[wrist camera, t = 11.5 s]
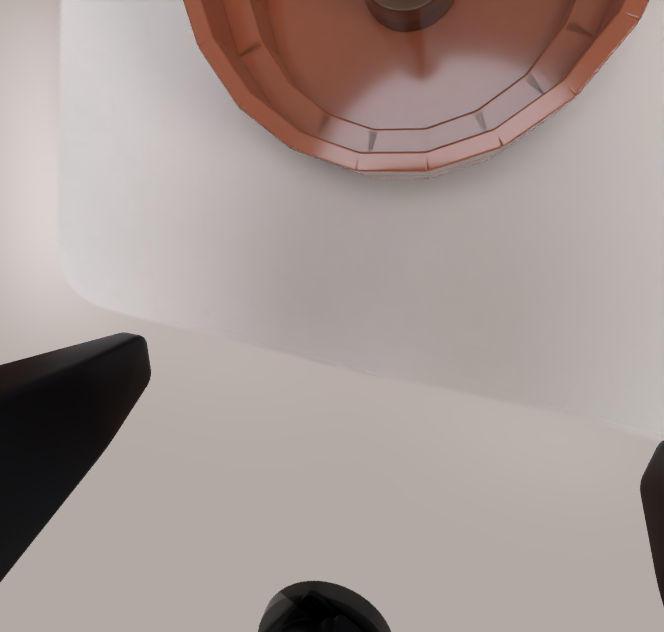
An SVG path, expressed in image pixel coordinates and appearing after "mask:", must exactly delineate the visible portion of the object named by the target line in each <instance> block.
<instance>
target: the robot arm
mask: <svg viewBox="0 0 664 632" xmlns="http://www.w3.org/2000/svg"><path fill="white" fill-rule="evenodd" d="M150 376H151V369H150V361H149V355H148V349H147V342H146V340H145V339H144V337H142V336H140V335H135V334H130V333H118V334H115V335H111V336H107V337H104V338H100V339H96V340H92V341H89V342H85V343H81V344H78V345H74V346H70V347H66V348H62V349H59V350H55V351H52V352H48V353H44V354H40V355H36V356H33V357H29V358H25V359H21V360H18V361H14V362H11V363H7V364H3V365H0V582H1V581H2V580H3V578H4V577H5V576H6V574H7V573H8V572H9V571H10V569H11V568H12V567H13V566H14V564H15V563H16V562H17V560H18V559H19V558H20V557H21V556H22V554H23V553H24V552H25V551H26V549H27V548H28V547H29V546H30V544H31V543H32V542H33V540H34V539H35V538H36V537H37V535H38V534H39V533H40V532H41V530H42V529H43V528H44V527H45V525H46V524H47V523H48V522H49V520H50V519H51V518H52V517H53V515H54V514H55V513H56V511H57V510H58V509H59V507H60V506H61V505H62V504H63V502H64V501H65V500H66V499H67V498H68V496H69V495H70V494H71V492H72V491H73V490H74V489H75V488H76V486H77V485H78V484H79V483H80V481H81V480H82V479H83V477H84V476H85V475H86V474H87V472H88V471H89V470H90V469H91V467H92V466H93V465H94V463H95V462H96V461H97V460H98V459H99V457H100V456H101V455H102V453H103V452H104V451H105V449H106V448H107V447H108V445H109V444H110V442H111V441H112V439H113V438H114V436H115V435H116V433H117V432H118V430H119V429H120V427H121V425H122V424H123V422H124V421H125V419H126V418H127V416H128V415H129V413H130V411H131V410H132V408H133V407H134V405H135V404H136V402H137V401H138V399H139V397H140V396H141V394H142V393H143V391H144V390H145V388H146V387H147V385H148V383H149V380H150ZM640 492H641V498H642V503H643V509H644V514H645V520H646V525H647V531H648V536H649V541H650V547H651V552H652V557H653V563H654V568H655V574H656V578H657V583H658V587H659V591H660V595H661V598H662V602H663V605H664V441H662V442H661V443H660V444H659V445H658V447H657V448H656V450H655V452H654V454H653V456H652V458H651V460H650V462H649V464H648V466H647V468H646V470H645V472H644V475H643V477H642V479H641V485H640ZM311 599H313V600H314V601H312V600H311ZM266 632H366V631H365V630H364V629H363V628H362V627H360V626H359V625H358V624H357V623H355V622H354V621H353V620H352V619H351V618H349V617H348V616H347V615H346V614H345V613H343V612H342V611H341V610H340V609H338V608H337V607H336V606H335V605H334V604H332V603H331V602H330V601H329V600H327V599H326V598H325V597H324V596H323V595H321V594H320V593H319V592H317V591H316V590H308V591H306V592H305V593H304V594H303V595H302V596H301V597H300V598H299V599H298V600H297V601H296V602H295V603H294V604H293V605H292V606H291V607H290V608H289V609H288V610H287V611H286V612H285V613H284V614H283V615H282V616H281V617H280V618H279V619H278V620H277V621H276V622H275V623H274V624H273V625H272V626H271V627H270V628H269V629H268V630H267V631H266Z"/></svg>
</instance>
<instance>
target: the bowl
mask: <svg viewBox="0 0 664 632" xmlns="http://www.w3.org/2000/svg"><path fill="white" fill-rule="evenodd" d="M183 1H184V5H185V8H186V11H187V14H188V17H189V20H190V23H191V26H192V29H193V33H194V36H195V39H196V42H197V45H198V46H199V49H200V51H201V52H202V54H203V55H204V57H205V58H206V60H207V61H208V63H209V64H210V66H211V67H212V69H213V70H214V72H215V73H216V75H217V76H218V78H219V79H220V81H221V82H222V83H223V85H224V86H225V88H226V89H227V91H228V92H229V94H230V95H231V97H232V98H233V100H234V101H235V103H236V104H237V105H238V106H239V108H240V109H241V110H243V111H244V112H245V113H246V114H248V115H249V116H250V117H251V118H253V119H254V120H255V121H257V122H258V123H259V124H260V125H262V126H263V127H264V128H265V129H267V130H268V131H269V132H270V133H272V134H273V135H274V136H276V137H277V138H278V139H279V140H281V141H282V142H283V143H284V144H286V145H287V146H288V147H289V148H291V149H293V150H295V151H298V152H301V153H303V154H306V155H309V156H311V157H314V158H317V159H320V160H322V161H325V162H328V163H331V164H334V165H337V166H339V167H342V168H345V169H348V170H351V171H354V172H357V173H360V174H362V175H365V176H368V177H371V178H424V179H429V178H430V177H431V178H434V177H437V176H440V175H443V174H446V173H449V172H452V171H455V170H458V169H462V168H465V167H468V166H471V165H474V164H477V163H480V162H483V161H487V160H488V159H490V158H492V157H494V156H495V155H497V154H498V153H500V152H501V151H503V150H504V149H505V148H507V147H508V146H510V145H511V144H513V143H514V142H516V141H517V140H519V139H520V138H521V137H523V136H524V135H526V134H527V133H529V132H530V131H532V130H533V129H534V128H536V127H537V126H539V125H540V124H542V123H543V122H544V121H546V120H547V119H548V118H550V117H551V116H552V115H553V114H555V113H556V112H557V111H559V110H560V109H561V108H562V107H564V106H565V105H566V104H568V103H569V102H570V101H571V100H573V99H574V98H575V97H576V96H577V95H578V94H579V93H580V92H581V90H582V89H583V88H584V87H585V86H586V85H587V83H588V82H589V81H590V80H591V79H592V77H593V76H594V75H595V74H596V73H597V71H598V70H599V69H600V68H601V67H602V65H603V64H604V63H605V62H606V61H607V59H608V58H609V57H610V56H611V55H612V54H613V52H614V51H615V50H616V49H617V48H618V46H619V45H620V44H621V43H622V42H623V40H624V39H625V38H626V37H627V36H628V34H629V33H630V32H631V31H632V30H633V28H634V27H635V26H636V25H637V23H638V21H639V20H640V19H641V17H642V15H643V13H644V11H645V8H646V6H647V4H648V2H649V0H454V2H453V3H452V5H451V7H450V8H449V9H448V10H447V12H446V13H445V14H444V15H443V16H442V17H441V18H440V19H438V20H437V21H436V22H434V23H433V24H431V25H430V26H428V27H425V28H423V29H420V30H417V31H411V32H401V31H396V30H392V29H390V28H388V27H386V26H384V25H383V24H381V23H380V22H379V21H378V20H376V19H375V17H374V16H373V15H372V14H371V12H370V10H369V9H368V7H367V4H366V2H365V0H183Z"/></svg>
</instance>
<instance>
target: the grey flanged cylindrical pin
mask: <svg viewBox="0 0 664 632" xmlns="http://www.w3.org/2000/svg"><path fill="white" fill-rule="evenodd" d="M365 2H366V4H367V7H368V9H369V10H370V12H371V14H372V15H373V16H374V17H375V19H376V20H378V21H379V22H380V23H381V24H383V25H384V26H386V27H388V28H390V29H392V30H396V31H401V32H411V31H417V30H420V29H423V28H425V27H428V26H430V25H431V24H433V23H434V22H436V21H437V20H438V19H440V18H441V17H442V16H443V15H444V14H445V13H446V12H447V10H448V9H449V8H450V7H451V5H452V3H453V2H454V0H365Z"/></svg>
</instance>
